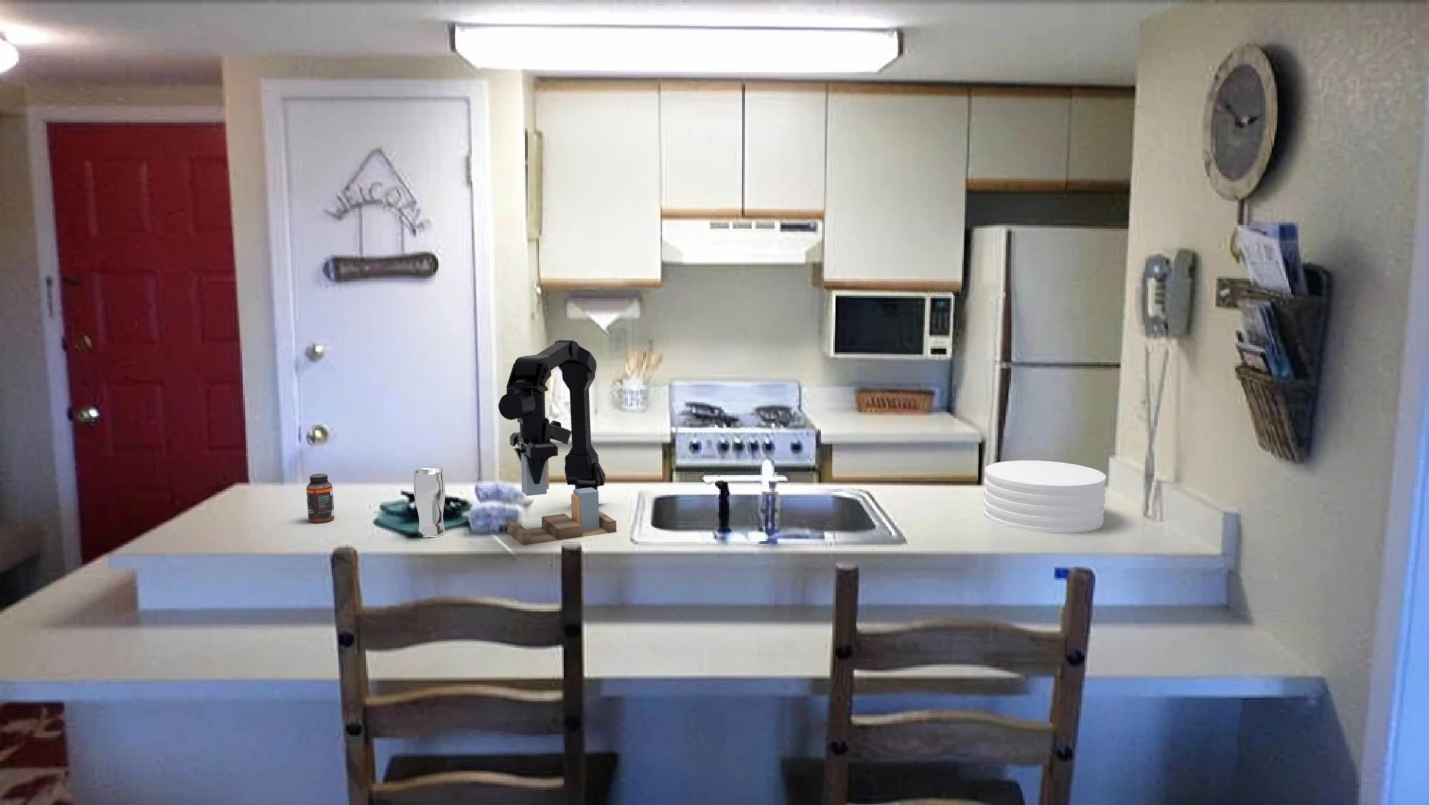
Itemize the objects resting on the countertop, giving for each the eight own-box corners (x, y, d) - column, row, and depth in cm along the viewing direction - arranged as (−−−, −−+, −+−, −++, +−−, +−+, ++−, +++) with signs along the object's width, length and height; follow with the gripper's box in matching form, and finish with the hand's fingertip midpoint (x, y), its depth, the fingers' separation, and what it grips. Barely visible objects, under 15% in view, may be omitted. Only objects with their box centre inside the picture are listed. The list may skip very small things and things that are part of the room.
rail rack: (507, 536, 224) (507, 521, 224) (597, 523, 234) (597, 509, 234) (523, 549, 214) (522, 534, 213) (616, 535, 224) (616, 521, 223)
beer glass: (419, 539, 221) (416, 475, 219) (413, 532, 227) (410, 469, 225) (450, 535, 224) (447, 472, 222) (443, 528, 230) (440, 466, 228)
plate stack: (1109, 511, 245) (1112, 467, 243) (1095, 540, 221) (1098, 490, 219) (996, 498, 258) (998, 456, 256) (971, 524, 234) (972, 477, 232)
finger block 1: (521, 491, 221) (520, 452, 220) (543, 489, 223) (542, 450, 222) (527, 495, 217) (526, 456, 216) (549, 493, 219) (548, 454, 218)
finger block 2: (571, 527, 227) (570, 489, 226) (592, 524, 230) (591, 487, 228) (578, 532, 223) (577, 494, 222) (599, 529, 226) (598, 491, 224)
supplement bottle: (340, 518, 239) (337, 473, 237) (321, 524, 234) (318, 478, 232) (322, 516, 242) (319, 471, 240) (302, 522, 236) (299, 476, 235)
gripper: (580, 416, 213) (581, 486, 215) (555, 405, 229) (556, 471, 231) (530, 420, 208) (531, 491, 210) (508, 408, 224) (510, 475, 227)
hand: (534, 481), depth 220 cm, fingers closed on finger block 1, 4 cm apart
